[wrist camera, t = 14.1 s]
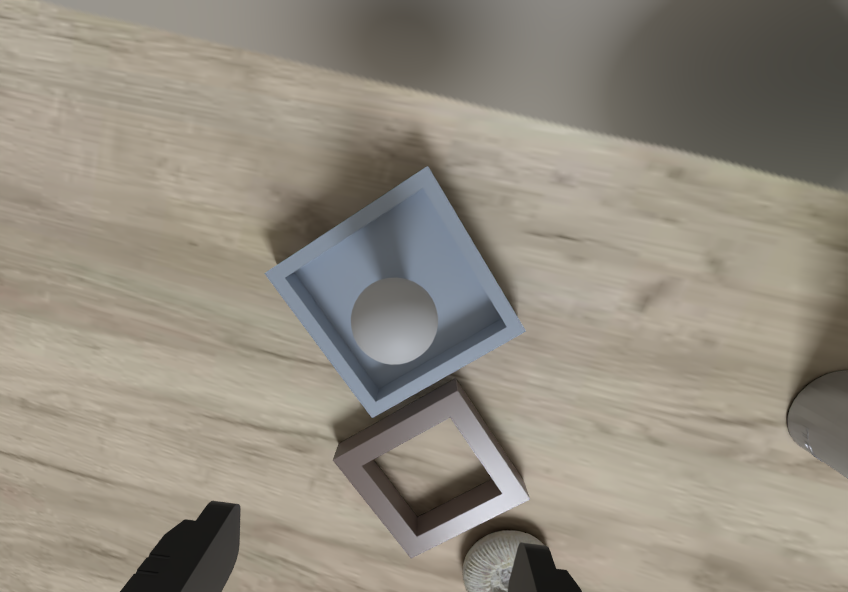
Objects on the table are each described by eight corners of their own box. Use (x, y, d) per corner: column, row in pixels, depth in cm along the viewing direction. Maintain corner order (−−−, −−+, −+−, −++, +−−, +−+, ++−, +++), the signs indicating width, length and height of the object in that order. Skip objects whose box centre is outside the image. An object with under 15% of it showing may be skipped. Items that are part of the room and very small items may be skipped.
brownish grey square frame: (455, 378, 38) (457, 390, 36) (523, 481, 41) (530, 499, 39) (338, 444, 40) (332, 460, 37) (411, 537, 43) (410, 558, 40)
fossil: (580, 618, 41) (494, 640, 43) (571, 582, 44) (492, 604, 47) (533, 545, 38) (444, 573, 41) (527, 512, 42) (446, 540, 44)
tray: (427, 168, 33) (427, 165, 30) (517, 320, 36) (525, 331, 34) (277, 266, 35) (264, 273, 32) (376, 401, 39) (372, 418, 36)
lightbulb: (364, 258, 34) (346, 284, 24) (433, 263, 35) (446, 291, 24) (361, 324, 36) (342, 377, 25) (428, 328, 36) (437, 382, 25)
